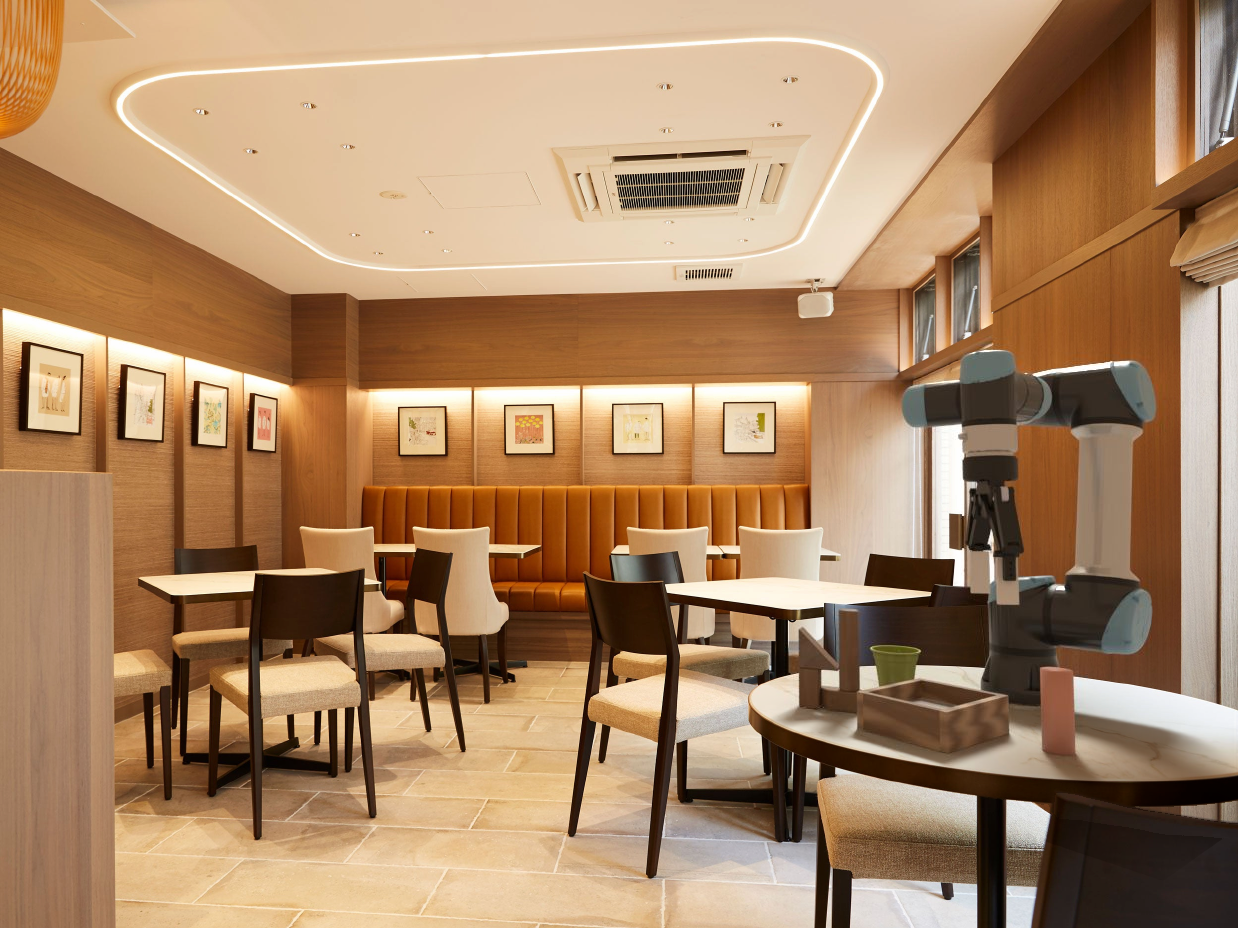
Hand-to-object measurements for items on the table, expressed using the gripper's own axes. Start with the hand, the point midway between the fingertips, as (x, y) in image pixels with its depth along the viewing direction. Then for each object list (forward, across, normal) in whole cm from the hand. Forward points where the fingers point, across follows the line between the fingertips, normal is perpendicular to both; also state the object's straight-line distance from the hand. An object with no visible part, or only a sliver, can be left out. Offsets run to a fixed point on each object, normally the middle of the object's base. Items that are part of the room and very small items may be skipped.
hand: (993, 598), depth 116 cm
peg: (+23, -5, +10) cm, 26 cm away
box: (+23, -12, -6) cm, 27 cm away
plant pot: (+24, -38, -8) cm, 46 cm away
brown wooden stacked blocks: (+23, -24, -22) cm, 40 cm away
